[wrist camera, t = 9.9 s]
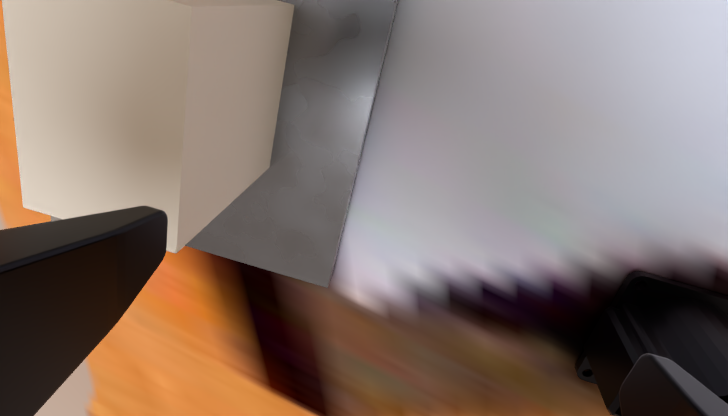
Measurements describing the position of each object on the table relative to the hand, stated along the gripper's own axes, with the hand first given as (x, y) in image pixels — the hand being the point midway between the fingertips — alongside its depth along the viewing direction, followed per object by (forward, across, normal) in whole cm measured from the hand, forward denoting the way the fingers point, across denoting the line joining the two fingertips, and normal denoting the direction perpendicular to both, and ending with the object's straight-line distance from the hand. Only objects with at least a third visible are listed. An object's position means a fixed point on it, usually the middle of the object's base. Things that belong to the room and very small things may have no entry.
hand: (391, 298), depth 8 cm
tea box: (+12, +9, 0) cm, 15 cm away
